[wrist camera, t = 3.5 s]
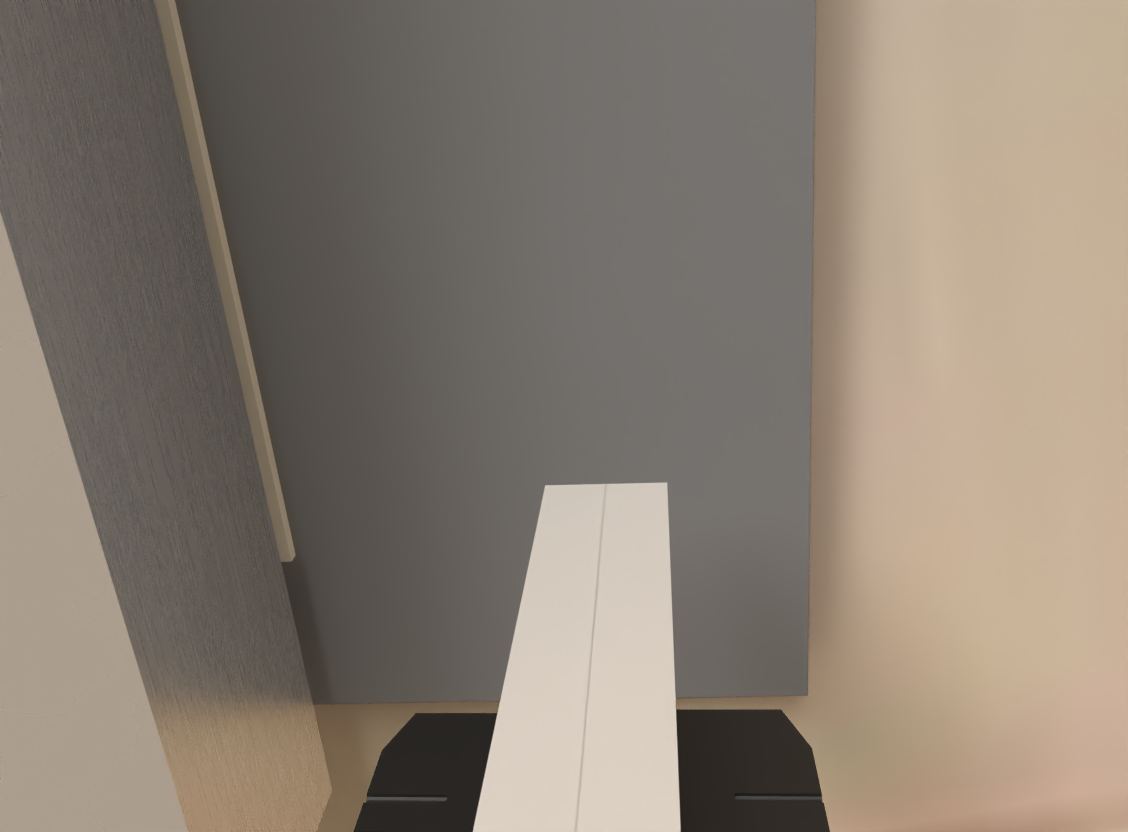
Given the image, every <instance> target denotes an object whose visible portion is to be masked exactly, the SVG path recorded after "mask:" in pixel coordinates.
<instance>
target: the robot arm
mask: <svg viewBox="0 0 1128 832" xmlns="http://www.w3.org/2000/svg"><path fill="white" fill-rule="evenodd" d="M354 832H830V830H829V826H828V821H827V816H826V812H825V807H824V803H822V793H821V789H820V784H819V779H818V775H817V770H816V765H815V761H814V756H813V752H812V748H811V746H810V745H809V744H808V743H807V741H806V740H805V739H804V738H803V736H802V735H801V734H800V733H799V731H798V730H797V729H796V728H795V726H794V725H793V724H792V723H791V721H790V720H789V719H788V718H787V716H786V715H785V714H784V713H783V711H782V710H676V697H675V672H674V646H673V620H672V594H671V568H670V542H669V516H668V490H667V483H624V484H581V485H545V489H544V494H543V499H542V503H541V508H540V513H539V518H538V522H537V527H536V532H535V537H534V542H533V546H532V551H531V556H530V561H529V565H528V570H527V575H526V580H525V585H524V589H523V594H522V599H521V604H520V608H519V613H518V618H517V623H516V628H515V632H514V637H513V642H512V647H511V651H510V656H509V661H508V666H507V671H506V675H505V680H504V685H503V690H502V694H501V699H500V704H499V709H498V713H416V714H415V715H414V716H413V717H412V718H411V719H410V720H409V721H408V723H407V724H406V725H405V726H404V727H403V728H402V729H401V730H400V731H399V732H398V734H397V735H396V736H395V737H394V738H393V739H392V740H391V741H390V742H389V743H388V745H387V746H386V747H385V748H384V749H383V750H382V752H381V755H380V758H379V761H378V764H377V767H376V769H375V772H374V775H373V778H372V781H371V784H370V787H369V789H368V792H367V801H366V803H364V804H363V806H362V809H361V812H360V815H359V818H358V821H357V824H356V826H355V829H354Z"/></svg>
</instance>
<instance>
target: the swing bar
mask: <svg viewBox="0 0 1128 832" xmlns="http://www.w3.org/2000/svg"><path fill="white" fill-rule="evenodd" d="M331 793H332V787H331V782H330V778H329V774H328V769H327V765H326V760H325V756H324V751H323V747H322V742H321V738H320V733H319V729H318V725H317V720H316V716H315V711H314V707H313V702H312V698H311V693H310V689H309V685H308V680H307V676H306V671H305V667H304V662H303V658H302V653H301V649H300V645H299V640H298V636H297V631H296V627H295V622H294V618H293V613H292V609H291V604H290V600H289V596H288V591H287V587H286V582H285V578H284V573H283V569H282V564H281V560H280V556H279V551H278V547H277V542H276V538H275V533H274V529H273V524H272V520H271V516H270V511H269V507H268V502H267V498H266V493H265V489H264V484H263V480H262V475H261V471H260V467H259V462H258V458H257V453H256V449H255V444H254V440H253V435H252V431H251V427H250V422H249V418H248V413H247V409H246V404H245V400H244V395H243V391H242V387H241V382H240V378H239V373H238V369H237V364H236V360H235V355H234V351H233V346H232V342H231V338H230V333H229V329H228V324H227V320H226V315H225V311H224V306H223V302H222V298H221V293H220V289H219V284H218V280H217V275H216V271H215V266H214V262H213V258H212V253H211V249H210V244H209V240H208V235H207V231H206V226H205V222H204V217H203V213H202V209H201V204H200V200H199V195H198V191H197V186H196V182H195V177H194V173H193V169H192V164H191V160H190V155H189V151H188V146H187V142H186V137H185V133H184V129H183V124H182V120H181V115H180V111H179V106H178V102H177V97H176V93H175V88H174V84H173V80H172V75H171V71H170V66H169V62H168V57H167V53H166V48H165V44H164V40H163V35H162V31H161V26H160V22H159V17H158V13H157V8H156V4H155V0H0V832H316V831H317V828H318V826H319V823H320V821H321V818H322V816H323V813H324V811H325V808H326V806H327V803H328V801H329V798H330V795H331Z"/></svg>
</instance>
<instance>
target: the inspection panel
mask: <svg viewBox="0 0 1128 832" xmlns="http://www.w3.org/2000/svg"><path fill="white" fill-rule="evenodd" d="M155 4H156V8H157V13H158V17H159V22H160V26H161V31H162V35H163V40H164V44H165V48H166V53H167V57H168V62H169V66H170V71H171V75H172V80H173V84H174V88H175V93H176V97H177V102H178V106H179V111H180V115H181V120H182V124H183V129H184V133H185V137H186V142H187V146H188V151H189V155H190V160H191V164H192V169H193V173H194V177H195V182H196V186H197V191H198V195H199V200H200V204H201V209H202V213H203V217H204V222H205V226H206V231H207V235H208V240H209V244H210V249H211V253H212V258H213V262H214V266H215V271H216V275H217V280H218V284H219V289H220V293H221V298H222V302H223V306H224V311H225V315H226V320H227V324H228V329H229V333H230V338H231V342H232V346H233V351H234V355H235V360H236V364H237V369H238V373H239V378H240V382H241V387H242V391H243V395H244V400H245V404H246V409H247V413H248V418H249V422H250V427H251V431H252V435H253V440H254V444H255V449H256V453H257V458H258V462H259V467H260V471H261V475H262V480H263V484H264V489H265V493H266V498H267V502H268V507H269V511H270V516H271V520H272V524H273V529H274V533H275V538H276V542H277V547H278V551H279V556H280V560H281V564H282V569H283V573H284V578H285V582H286V587H287V591H288V596H289V600H290V604H291V609H292V613H293V618H294V622H295V627H296V631H297V636H298V640H299V645H300V649H301V653H302V658H303V662H304V667H305V671H306V676H307V680H308V685H309V689H310V693H311V698H312V702H313V704H364V703H420V702H477V701H500V699H501V694H502V690H503V685H504V680H505V675H506V671H507V666H508V661H509V656H510V651H511V647H512V642H513V637H514V632H515V628H516V623H517V618H518V613H519V608H520V604H521V599H522V594H523V589H524V585H525V580H526V575H527V570H528V565H529V561H530V556H531V551H532V546H533V542H534V537H535V532H536V527H537V522H538V518H539V513H540V508H541V503H542V499H543V494H544V489H545V485H581V484H624V483H667V490H668V516H669V542H670V568H671V594H672V620H673V646H674V672H675V697H676V698H702V697H759V696H808V615H809V528H810V442H811V355H812V269H813V182H814V96H815V9H816V0H155Z"/></svg>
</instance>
